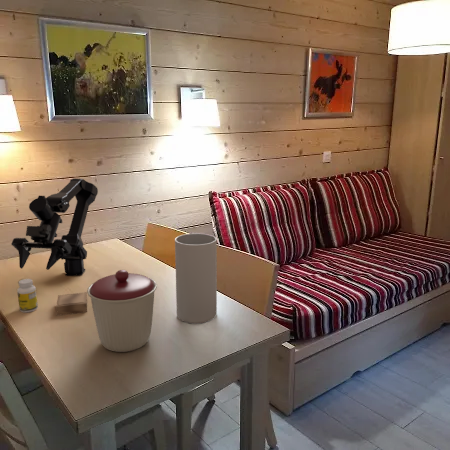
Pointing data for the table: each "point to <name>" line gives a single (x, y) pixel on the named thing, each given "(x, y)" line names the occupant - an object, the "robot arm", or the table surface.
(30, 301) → the supplement bottle
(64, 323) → the table surface
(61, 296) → the square wooden block
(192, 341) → the table surface
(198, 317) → the cylinder vase
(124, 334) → the canister
